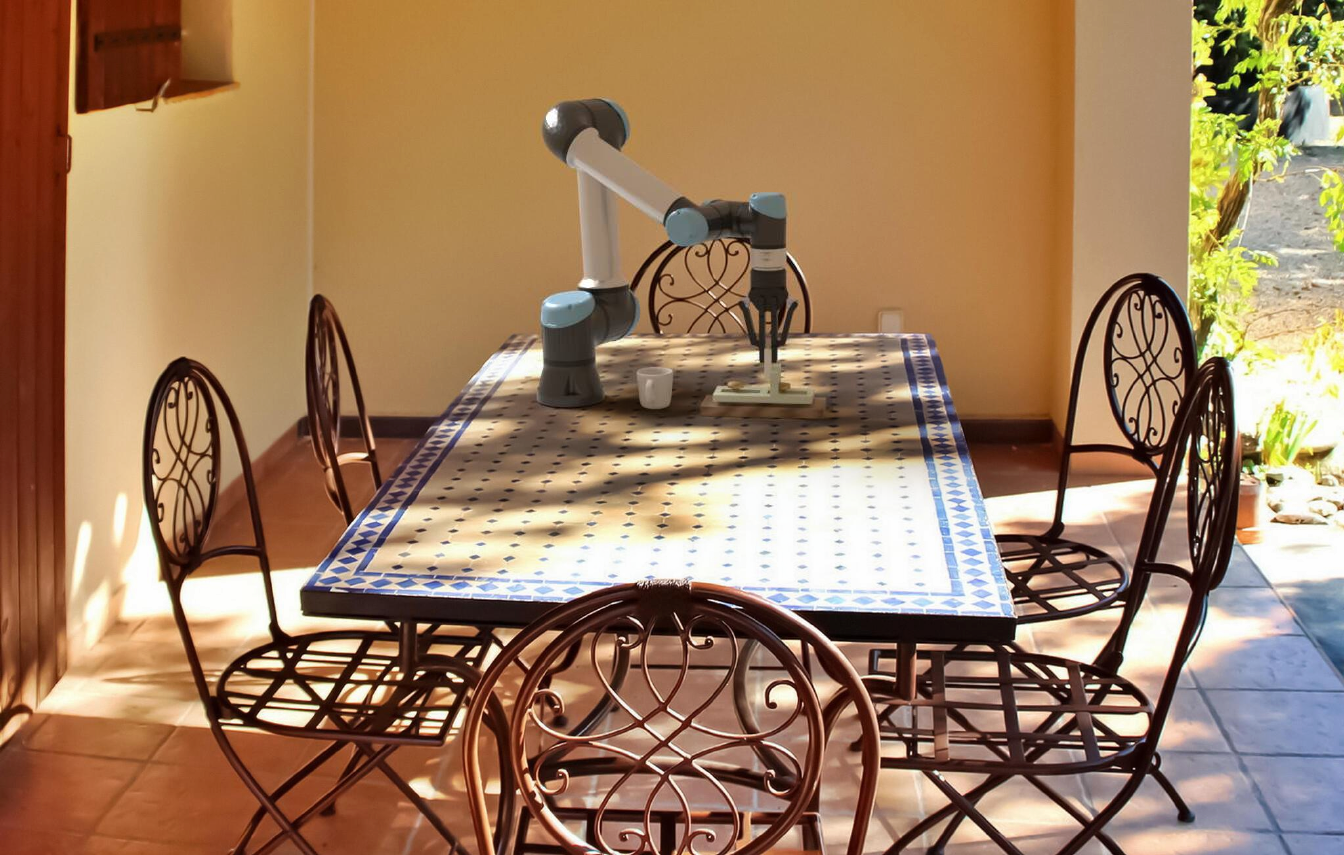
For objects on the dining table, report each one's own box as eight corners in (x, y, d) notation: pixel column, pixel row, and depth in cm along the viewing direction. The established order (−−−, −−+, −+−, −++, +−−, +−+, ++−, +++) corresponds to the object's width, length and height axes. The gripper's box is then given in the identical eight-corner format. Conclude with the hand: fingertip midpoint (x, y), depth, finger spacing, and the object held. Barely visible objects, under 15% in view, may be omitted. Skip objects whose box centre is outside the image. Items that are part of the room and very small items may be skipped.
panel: (712, 401, 305) (712, 371, 304) (717, 392, 313) (717, 362, 311) (811, 403, 302) (812, 373, 300) (814, 394, 310) (814, 364, 308)
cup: (667, 415, 306) (666, 379, 304) (630, 414, 308) (629, 377, 306) (677, 402, 316) (676, 367, 314) (641, 401, 318) (640, 366, 316)
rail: (700, 415, 306) (700, 388, 304) (706, 403, 315) (706, 376, 314) (823, 418, 302) (823, 391, 300) (825, 406, 311) (826, 379, 309)
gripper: (735, 270, 297) (735, 381, 304) (798, 270, 295) (797, 382, 301) (739, 264, 304) (740, 373, 311) (800, 265, 302) (800, 374, 309)
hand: (768, 377), depth 306 cm, fingers closed
